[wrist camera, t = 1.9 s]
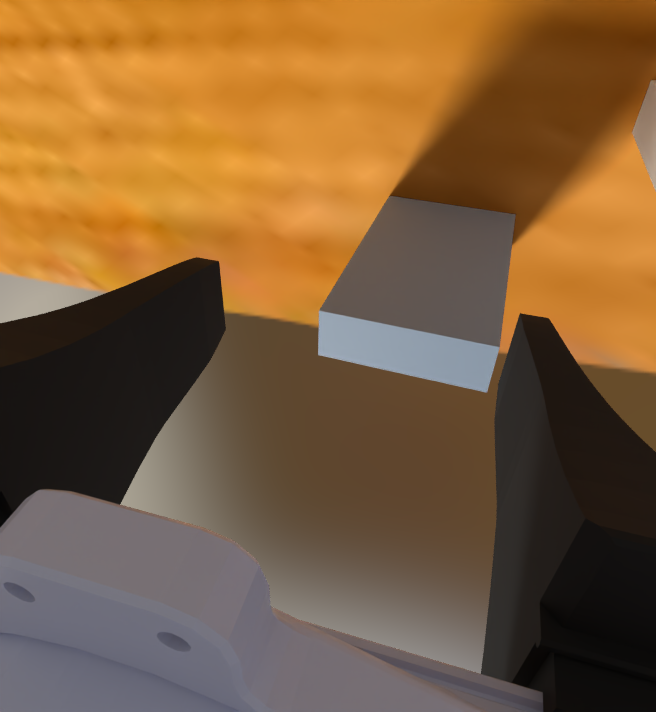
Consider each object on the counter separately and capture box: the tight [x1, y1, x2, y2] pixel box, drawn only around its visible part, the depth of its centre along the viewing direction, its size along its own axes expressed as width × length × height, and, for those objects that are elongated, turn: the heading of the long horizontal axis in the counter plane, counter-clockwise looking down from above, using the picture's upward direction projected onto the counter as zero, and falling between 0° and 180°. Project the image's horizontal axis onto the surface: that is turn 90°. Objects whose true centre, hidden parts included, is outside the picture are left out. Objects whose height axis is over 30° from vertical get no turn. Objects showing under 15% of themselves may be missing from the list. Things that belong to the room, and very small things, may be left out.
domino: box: [318, 196, 516, 392], centre depth 19 cm, size 2×5×9 cm, turn 89°
